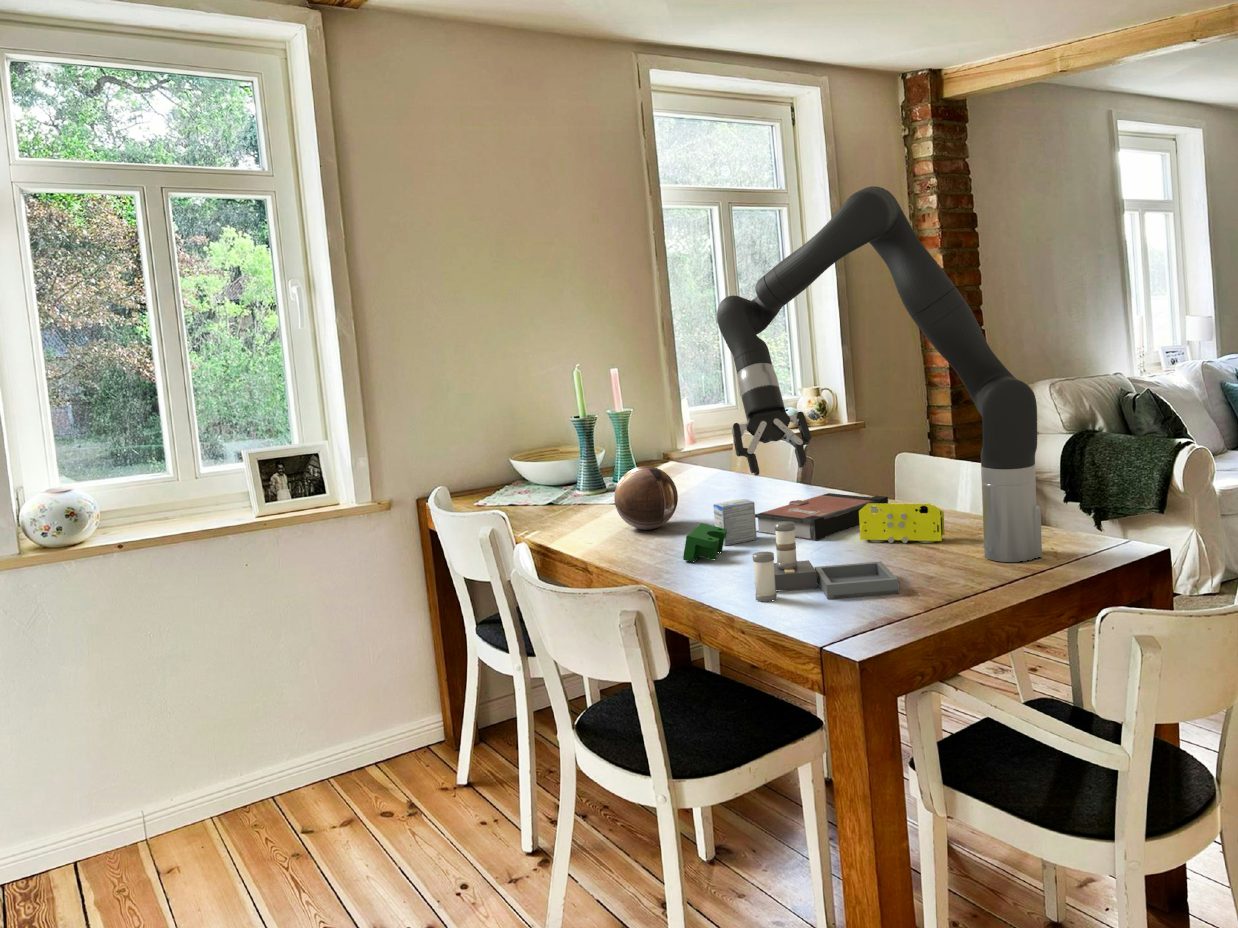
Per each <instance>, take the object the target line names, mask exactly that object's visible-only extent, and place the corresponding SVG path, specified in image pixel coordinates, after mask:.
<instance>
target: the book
mask: <svg viewBox="0 0 1238 928" xmlns="http://www.w3.org/2000/svg"><path fill="white" fill-rule="evenodd" d="M867 504H889V496H883V495H875V496H872V497H871V496H863V495H851V494H841V493H829V492H828V493H825V494H821V495H817V496H814V497H810V498H807V499H802V500H801V499H796V500H791V501H789V502H788V504H787V505H783V506H779V507H775V508H773V509H769V510H767V511H766V510H765V511H763V512H759V513H755V519H757V522H758V530H756V533H759V534H767V535H772V536H776V533H775V527H774V524H775V523H777V522H783V521H790V522H794V523H795V529H794V530H795V539H799V540H805V541H807V540H808V541H812V542H816V541H819V540H822V539H825V538H826V537H829V536H832V535H834V534H837V533H841V532H843V531H847V530H850V529H853V528H855V527H860V524H859V510H861V509H862V508H863V507H864V506H865V505H867Z"/></svg>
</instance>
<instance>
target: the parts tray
mask: <svg viewBox="0 0 1238 928" xmlns="http://www.w3.org/2000/svg"><path fill="white" fill-rule="evenodd" d="M813 567H814V569H815V570H816V574H817V586H819V589H821V591H822V593H823V594H824V596H825V597H826V599H827V600H835V599H845V598H847V599H848V598H859V597H860V598H861V597H872V596H873V597H874V596H883V595H884V596H885V595H896V594H897V595H898V594H899V593H900V590H899V578H898V577H897V576H896V575H895V574H894V573H893V572H892V571H890V569H889V568H888V567H887V565H885V564H884V563H883V561H871V562H870V561H869V562H858V563H845V564H834V565H833V564H832V565H821V566H813Z"/></svg>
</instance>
